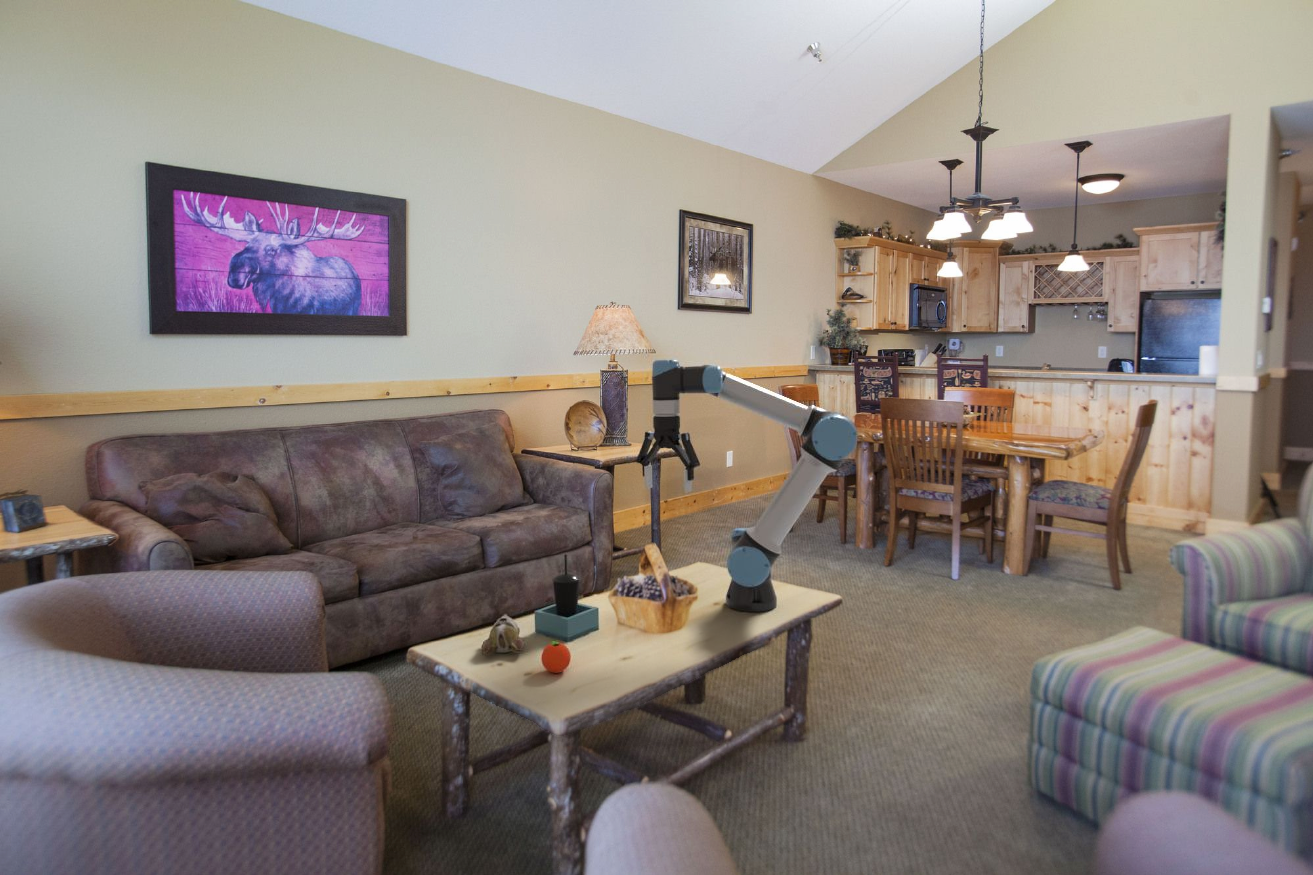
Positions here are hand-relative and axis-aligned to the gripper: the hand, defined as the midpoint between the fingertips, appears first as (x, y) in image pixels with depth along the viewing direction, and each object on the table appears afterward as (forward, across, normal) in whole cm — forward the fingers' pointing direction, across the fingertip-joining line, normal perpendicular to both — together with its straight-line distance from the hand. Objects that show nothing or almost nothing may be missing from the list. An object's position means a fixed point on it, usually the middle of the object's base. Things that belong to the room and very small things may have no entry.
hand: (668, 490), depth 228 cm
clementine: (+36, -1, +49) cm, 61 cm away
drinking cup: (+35, +16, +26) cm, 47 cm away
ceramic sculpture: (+36, +19, +46) cm, 62 cm away
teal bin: (+36, +16, +26) cm, 47 cm away
